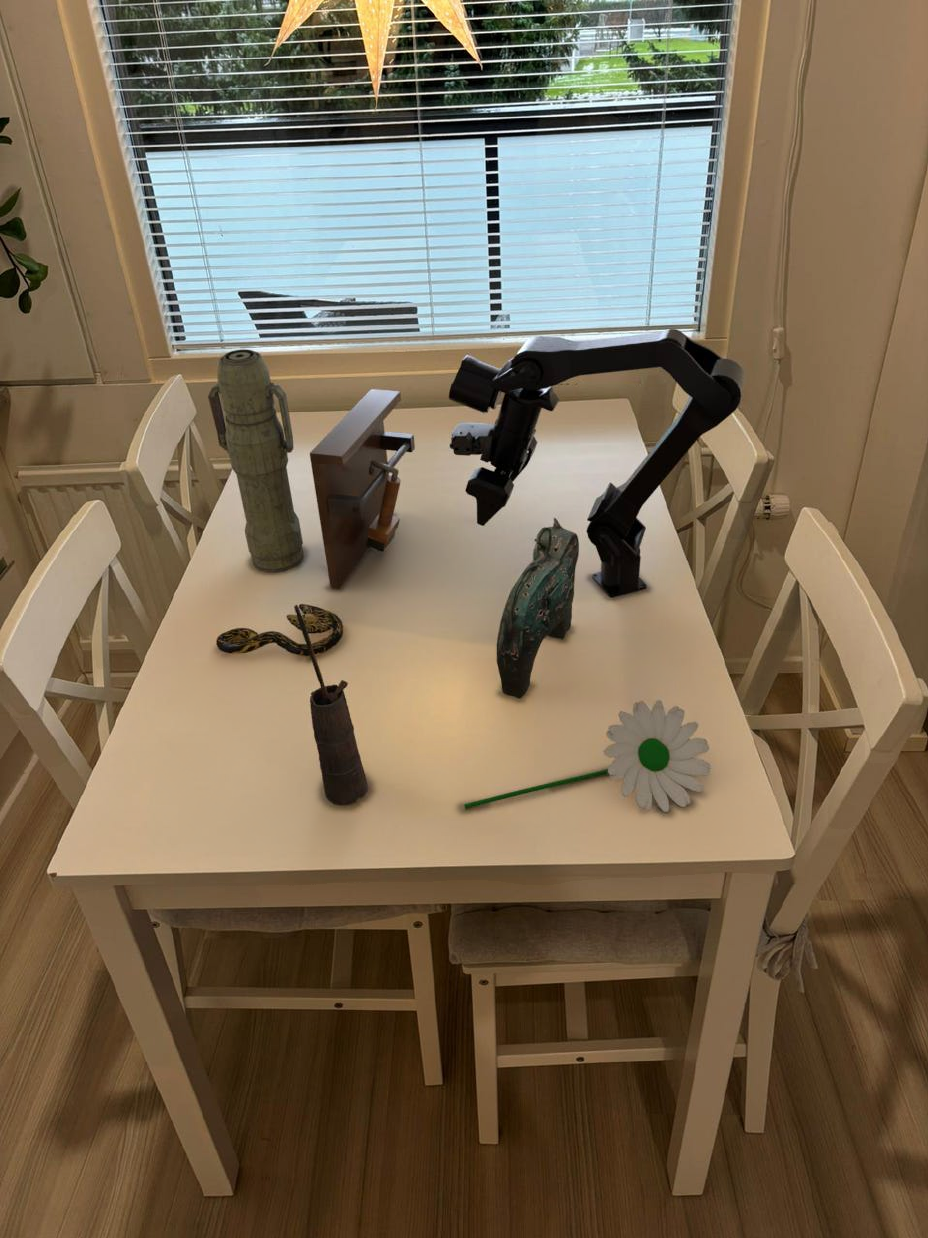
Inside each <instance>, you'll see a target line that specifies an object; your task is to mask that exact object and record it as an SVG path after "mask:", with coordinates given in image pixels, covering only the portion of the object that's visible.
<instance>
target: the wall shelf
mask: <svg viewBox="0 0 928 1238" xmlns="http://www.w3.org/2000/svg"><path fill="white" fill-rule="evenodd" d="M401 401H402V395H401V391H400V390H389V389H378V388H377V389H375V388H371V389H370V390H369V391H368V392H367V393H366V394H365V395H363V397H362V398H361V399H360V400H359V401H358V402H357V403H356V404H355V405H354V406H353V407H352V409H351V410H350V411H349V412H348V413H347V414H346V415H345V416H343V418H341V420H340V421H339V422H338V423H337V424H336V425H335V426H334V427H333V428H332V429H331V430H330V431H329V432H328V433H327V435H325V436H324V437H323V439H321V440H320V442H319V443H318V444H316V446H315V447H314V448H313V449H312V450H311V451H310V452H309V458H310V465H311V472H312V479H313V484H314V491H315V498H316V504H317V510H318V516H319V517H318V518H319V523H320V530H321V537H322V541H323V548H324V555H325V561H326V569H327V575H328V581H329V587H330V589H333V590H340V589H341V588H342V587H343V585H344V584H345V583H346V581H347V580H348V579H349V577H350V576H351V574H352V573H353V571H354V570H355V569H356V567H357V566H358V565H359V563H360V562H361V560H362V559H363V558H364V557H365V555H366V553H367V552H368V551H369V549H371V548H370V547H367V541H368V537H367V534H368V529H369V526H370V525H371V524H372V522H373V521H374V520H375V518H376V517H377V516H378V514H379V513H380V509H381V505H382V500H383V495H384V490H385V486H386V481H387V477H388V476H390V472H388V471H385V470H383V469H380V468H377V467H375V472H374V475H370V474H369V468H370V463H371V461H372V460H375V461H378V462H380V463H383V464H386V465H388V466H391V467H394V468H396V465H397V464H398V463H399V462H400V460H401V459H402V457H403V456H404V455H405V454H406V453H413V451H414V450H415V449H416V446H415V434H414V433H403V432H394V431H391V432H390V431H385V423H384V421H385V420H386V419H387V417H388V416H389V415H390V414H391V413H392V412H393V410H394V409H395V408H396V407H397V406H398V405H399V403H400V402H401ZM387 451H392V452H395V453H394V454H393V455H392V457H391V458H390V459H389V460H388V454H387Z"/></svg>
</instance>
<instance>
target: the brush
mask: <svg viewBox="0 0 928 1238" xmlns="http://www.w3.org/2000/svg"><path fill="white" fill-rule="evenodd" d="M375 467H377V468H380V469H383V470H385V471H388V472H390V473H391V475H389V476H388V477H387V481H386V486H385V490H384V495H383V500H382V505H381V509H380V513H379V514H378V516H377V517H376V518H375V520H374V521H373V522H372V524H371V525H370V526H369V529H368V534H367V537H368V541H367V547H370V548H369V549H372V550H375V551H377V552H380V553H384V552H385V551H386V549H387V548H388V546H389V545H390V544H391V542H392V540H394V538H395V535H396V530H397V529H398V527H399V525H400V519H401V518H400V517H399V516H397V515H394V514H395V509H396V504H397V500H398V496H399V491H400V486H401V481H402V480H401V478H400V477H399V476H398V475H399V472H400V471H399V469H398V468H396V467H391V466H388V465H386V464H383V463H380V462H378V461H375V460H372V461H371V463H370V468H369V474H370V475H374V472H375ZM390 473H389V474H390Z"/></svg>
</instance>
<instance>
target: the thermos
mask: <svg viewBox="0 0 928 1238" xmlns="http://www.w3.org/2000/svg"><path fill="white" fill-rule="evenodd" d="M217 368H218V369H217V376H216V378H217V384H215V385H214V386H213V387H211V389H210V392H209V394H208V396H207V399H208V403H209V406H210V410H211V414H212V418H213V421H214V427H215V430H216V434H217V439H218V445H219V447H221V448H222V449H223V450H224V451H225V452H227V454H228V458H229V461H230V466H231V469H232V471H233V472H234V473H235V475H236V479H237V483H238V484H237V485H238V488H239V494H240V499H241V504H242V509H243V513H244V518H245V527H244V534H245V539H246V543H247V548H248V552H249V554H251V563H252V566H253V567H254V568H255V569H256V570H258V571H260V572H264V573H273V574H274V573H283V572H286V571H289V570H292V569H294V568H296V567H298V566H299V565H300V564H301V563H302V562H303V561H304V558H305V554H304V553H305V552H304V549H303V544H304V541H303V536H302V530H301V523H300V518H299V516H298V515H297V513H296V511H295V508H294V503H293V497H292V496H293V495H292V492H291V491H292V490H291V486H290V485H291V484H290V480H289V474H288V468H287V466H288V463H289V456H288V453H292V452H293V450H294V436H293V429H292V423H291V417H290V411H289V404H288V400H287V393H286V392H285V391H284V390H283V388H282V387H281V386H280V385H277V384H275V383H274V382H271V381H272V380H271V375H270V370H269V367H268V366H267V364H266V362H265V361H264V358H263V357H262V354H261V353H259V352H258V351H255V350H252V349H247V348H245V349H244V348H243V349H241V348H240V349H235V350H231V351H229V352H226V353H225V354H223V355H222V356H220V358H219V359H218V367H217ZM274 396H275V397H276V398H277V399H278V405H279V410H280V417H281V421H280V419H279V418H278V416H277V410H276V409H275V406H274V405H275V399H274ZM220 398H221V399H220ZM223 411H224V412H225V417H224V413H223Z"/></svg>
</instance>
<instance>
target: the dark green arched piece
mask: <svg viewBox="0 0 928 1238" xmlns="http://www.w3.org/2000/svg"><path fill="white" fill-rule="evenodd" d="M534 541H535V542H536V543H535V545H534V548H533V552H532V559H533V560H532V561H531V562H530V563H529V564H528V565H527V566H526V567H525V569H524V570H523V572H522V573H521V575H520V576H519V577H518V579H517V581H516V582H515V583H514V585H513V587H512V589H511V590H510V592H509V594H508V597H507V599H506V602H505V604H504V608H503V611H502V615H501V619H500V623H499V628H498V634H497V638H496V665H497V669H498V673H499V674H498V675H499V678H500V684H501V685H500V686H501V692H502V694H504V695H506V696H510V697H514V698H517V699H518V700H519V699H522V698H523V697H525V695H526V694H527V692H528V690H529V688H530V686H531V676H532V672H533V668H534V664H535V660H536V658H537V656H538V653H539V649H540V647H541V646H542V643H543V641H544V640H545V639H546V637H550V638H554V639H557V640H562V641H563V640H564V638H566V634H568V632H569V631H570V629H571V626H572V618H573V603H574V602H573V601H574V597H575V579H576V568H577V563H578V560H579V554H580V543H579V542H580V541H579V536H578V534H577V533H576V532H573V531H571V530H568V529H566V528H564V527H562V526H561V524H560V522H559V520H558V519H557V518H556V517H553V525H552V526H548V527H547V526H546V527H541V529H540V530H539V531H538V533H537V535H536V538H534Z"/></svg>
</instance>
